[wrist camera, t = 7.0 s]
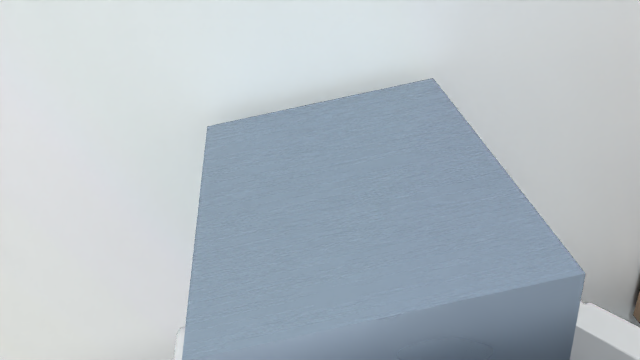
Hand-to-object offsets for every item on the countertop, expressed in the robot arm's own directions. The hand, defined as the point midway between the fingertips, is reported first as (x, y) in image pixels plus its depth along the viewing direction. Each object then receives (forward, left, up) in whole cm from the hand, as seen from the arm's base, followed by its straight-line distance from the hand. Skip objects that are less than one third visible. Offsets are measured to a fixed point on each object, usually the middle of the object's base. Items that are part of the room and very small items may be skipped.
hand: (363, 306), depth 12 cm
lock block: (0, 0, -2) cm, 2 cm away
